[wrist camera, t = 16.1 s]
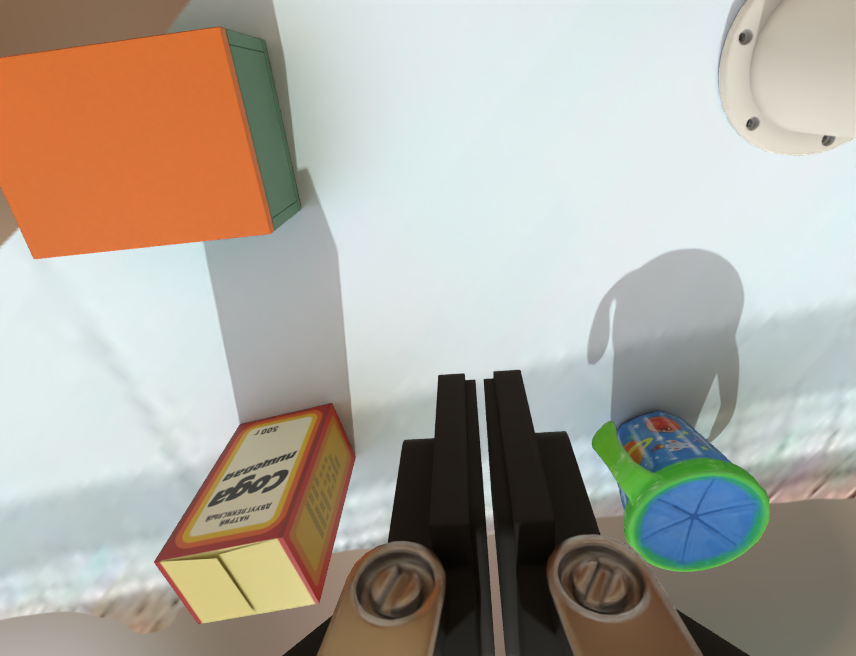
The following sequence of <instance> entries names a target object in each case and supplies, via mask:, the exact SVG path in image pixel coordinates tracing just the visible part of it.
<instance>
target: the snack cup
mask: <svg viewBox="0 0 856 656" xmlns="http://www.w3.org/2000/svg"><path fill="white" fill-rule="evenodd" d="M592 447H593V449H594V450H595V451H596V452H597V454H598V455H599V456H600V457H601V458H602V460H603V461H604V463H605V464H606V465H607V466H608V468H609V470H610V471H611V473H612V475H613V476H614V478H615V479H616V481H617V484H618V487H619V490H620V496H621V501H622V505H623V508H624V526H625V528H624V533H625V537H626V539H627V542H628V543H629V545H630V546H632V547H633V548H634V550H635V551H636V552H638V553H639V554H640V555H641V556H642V557H643V558H644V560H645V561H647V562H648V563H650V564H652V565H654V566H657V567H660V568H663V569H667V570H672V571H684V572H688V571H700V570H705V569H710V568H713V567H717V566H720V565H722V564H725V563H727V562H730V561H732V560H733V559H735V558H737V557H739V556H740V555H742V554H743V553H745V552H746V551H747V550H748V549H750V547H752V546H753V545H754V544H755V543H756V542H758V540H760V537H761V535H762V534H763V533H764V530H765V528H766V527H767V524H768V521H769V516H770V507H769V497H768V495H767V492H766V491H765V490H764V489H763V488H762V487H761V486H760V485H759V484H758V482H757V481H756V480H755V479H754V478H753V477H752V476H751V475H750V474H749V473H748V472H747V471H746V470H744V469H742V468H741V467H739V466H737V465H735V464H732V463H731V462H730V461H729V460H728V459H727V458H726V457H725V456H724V455H723V454H722V453H721V452H720V451H719V450H717V449H716V448H715V447H714V446H713V445H712V444H711V443H709V442H708V441H707V440H706V439H705V438H704V437H703V436H702V435H701V434H699V433H698V432H697V431H696V430H695V429H694V428H693V427H691V426H690V425H689V424H688V423H686V422H685V421H684V420H682V419H680V418H679V417H676V416H674V415H670V414H667V413H665V412H660V411H655V412H653V413H650V414H645V415H641V416H639V417H636V418H634V419H632V420H631V421H629V422H627V423H625V424H622V425H621V426H620V428H619V429H618V431H617V429H616V425H615V423H614V422H612V421H609V422H607V423H605V424H604V425H603V426H602V427H601V428H600V429H599V430H598V431H597V432H596V434H595V435H594V437H593V439H592Z"/></svg>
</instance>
